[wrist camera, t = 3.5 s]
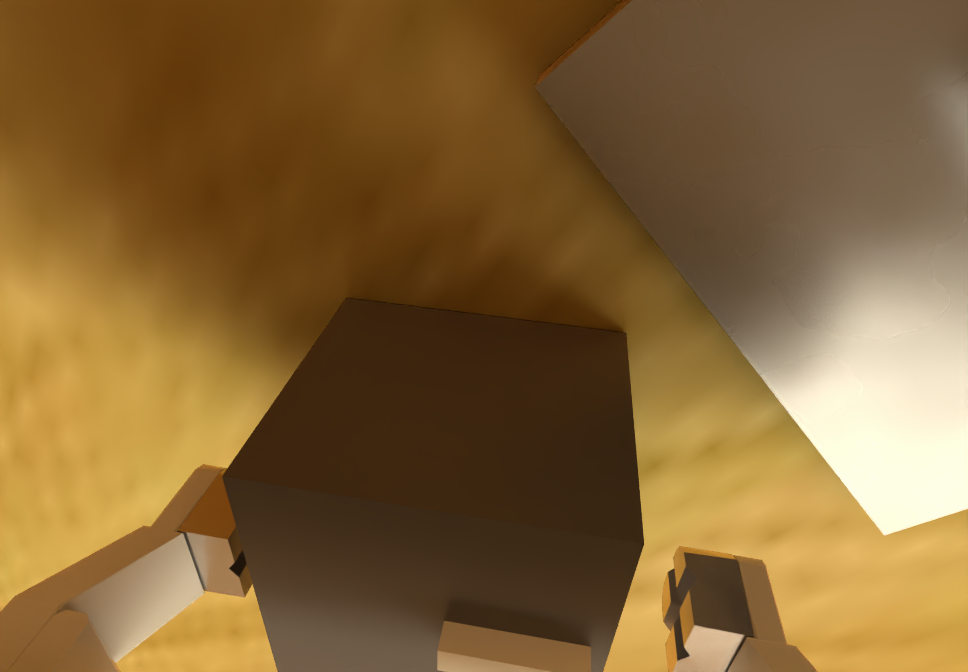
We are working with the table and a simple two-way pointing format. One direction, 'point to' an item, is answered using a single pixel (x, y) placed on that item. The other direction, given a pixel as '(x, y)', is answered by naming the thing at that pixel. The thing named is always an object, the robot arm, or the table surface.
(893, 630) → the table surface
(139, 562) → the robot arm
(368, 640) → the grey drawer unit
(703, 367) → the table surface
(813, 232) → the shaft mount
